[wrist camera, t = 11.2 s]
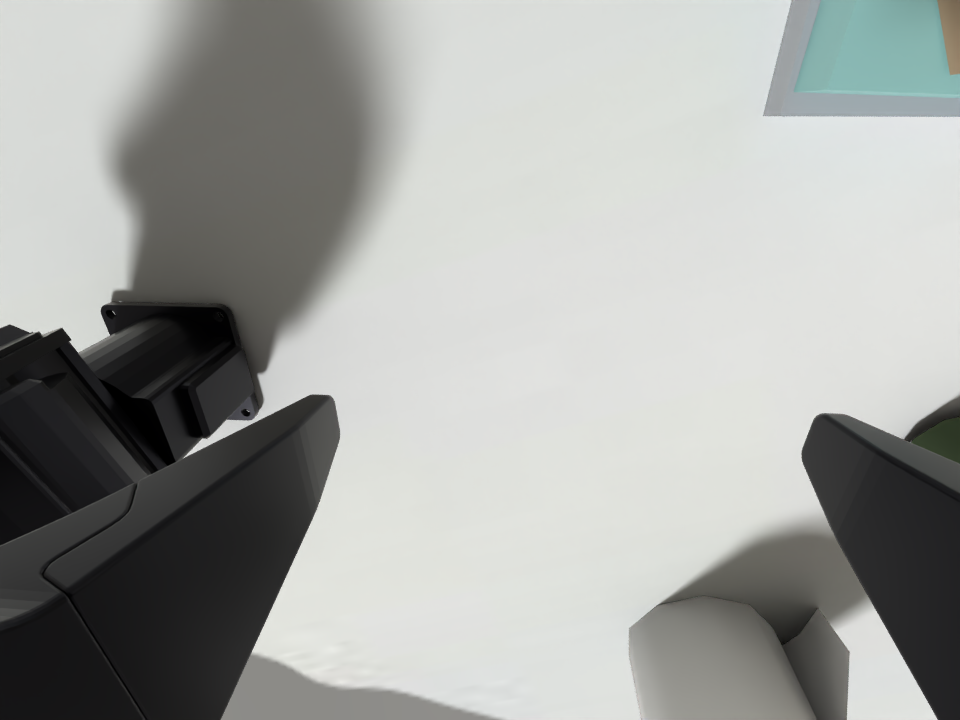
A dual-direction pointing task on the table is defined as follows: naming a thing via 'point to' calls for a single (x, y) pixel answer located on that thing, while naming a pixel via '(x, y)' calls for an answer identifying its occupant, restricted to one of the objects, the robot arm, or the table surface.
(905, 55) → the teal slab
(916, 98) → the slate slab
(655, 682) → the toilet tissue
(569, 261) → the table surface
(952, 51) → the walnut pillar
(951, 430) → the character mug
